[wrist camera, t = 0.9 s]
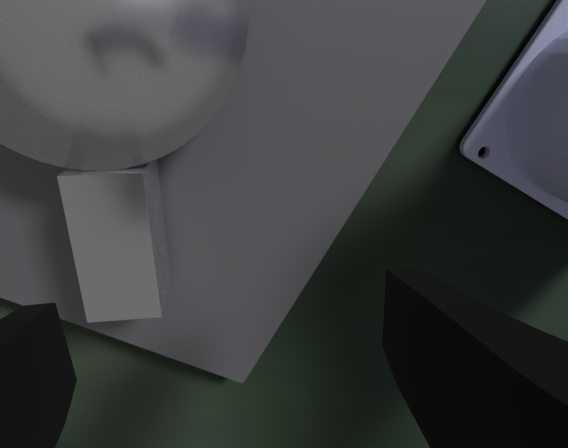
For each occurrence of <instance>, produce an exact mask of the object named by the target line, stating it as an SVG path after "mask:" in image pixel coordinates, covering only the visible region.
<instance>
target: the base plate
mask: <svg viewBox="0 0 568 448" xmlns="http://www.w3.org/2000/svg"><path fill="white" fill-rule="evenodd" d="M485 2H486V0H249V23H248V33H247V40H246V47H245V51H244V55H243V59H242V62H241V66H240V69H239V72H238V74H237V77H236V79H235V82H234V84H233V86H232V89H231V91H230V92H229V94H228V96H227V97H226V99H225V101H224V103H223V104H222V106H221V108H220V109H219V110H218V111H217V113H216V114H215V115H214V117H213V118H212V119H211V120H210V122H209V123H208V124H207V125H206V126H205V127H204V128H203V129H202V130H201V131H200V132H199V133H198V134H197V135H195V136H194V137H193V138H192V139H190V140H189V141H188V142H186V143H185V144H184V145H182V146H181V147H179V148H178V149H176V150H174V151H172V152H170V153H169V154H167V155H165V156H163V157H161V158H158V159H157V166H158V175H159V183H160V192H161V200H162V209H163V217H164V225H165V234H166V242H167V251H168V259H169V268H170V276H171V279H170V283H169V288H168V292H167V296H166V301H165V305H164V309H163V314H162V317H158V318H144V319H130V320H117V321H103V322H90V323H87V319H86V314H85V309H84V305H83V300H82V295H81V290H80V285H79V280H78V275H77V271H76V266H75V261H74V256H73V251H72V246H71V242H70V237H69V232H68V227H67V222H66V217H65V213H64V208H63V203H62V198H61V193H60V188H59V184H58V179H57V176H58V175H59V174H60V173H62V172H63V171H64V170H65V169H66V168H63V167H59V166H55V165H51V164H47V163H44V162H40V161H37V160H35V159H32V158H30V157H27V156H24V155H22V154H19V153H17V152H15V151H13V150H11V149H9V148H8V147H6V146H4V145H2V144H0V298H3V299H6V300H9V301H12V302H14V303H17V304H20V305H23V306H25V305H35V304H45V303H56V306H57V310H58V314H59V317H60V319H62V320H65V321H68V322H71V323H73V324H76V325H79V326H82V327H85V328H88V329H90V330H93V331H96V332H99V333H102V334H104V335H107V336H110V337H113V338H116V339H119V340H121V341H124V342H127V343H130V344H133V345H135V346H138V347H141V348H144V349H147V350H150V351H152V352H155V353H158V354H161V355H164V356H166V357H169V358H172V359H175V360H178V361H180V362H183V363H186V364H189V365H192V366H195V367H197V368H200V369H203V370H206V371H209V372H211V373H214V374H217V375H220V376H223V377H226V378H228V379H231V380H234V381H237V382H240V383H242V384H243V383H244V381H245V380H246V378H247V376H248V375H249V373H250V372H251V370H252V369H253V367H254V365H255V364H256V362H257V361H258V359H259V357H260V356H261V354H262V353H263V351H264V350H265V348H266V346H267V345H268V343H269V342H270V340H271V339H272V337H273V335H274V334H275V332H276V331H277V329H278V328H279V326H280V324H281V323H282V321H283V320H284V318H285V317H286V315H287V313H288V312H289V310H290V309H291V307H292V306H293V304H294V302H295V301H296V299H297V298H298V296H299V295H300V293H301V291H302V290H303V288H304V287H305V285H306V284H307V282H308V280H309V279H310V277H311V276H312V274H313V273H314V271H315V269H316V268H317V266H318V265H319V263H320V262H321V260H322V258H323V257H324V255H325V254H326V252H327V251H328V249H329V247H330V246H331V244H332V243H333V241H334V239H335V238H336V236H337V235H338V233H339V232H340V230H341V228H342V227H343V225H344V224H345V222H346V221H347V219H348V217H349V216H350V214H351V213H352V211H353V210H354V208H355V206H356V205H357V203H358V202H359V200H360V199H361V197H362V195H363V194H364V192H365V191H366V189H367V188H368V186H369V184H370V183H371V181H372V180H373V178H374V177H375V175H376V173H377V172H378V170H379V169H380V167H381V166H382V164H383V162H384V161H385V159H386V158H387V156H388V155H389V153H390V151H391V150H392V148H393V147H394V145H395V144H396V142H397V140H398V139H399V137H400V136H401V134H402V132H403V131H404V129H405V128H406V126H407V125H408V123H409V121H410V120H411V118H412V117H413V115H414V114H415V112H416V110H417V109H418V107H419V106H420V104H421V103H422V101H423V99H424V98H425V96H426V95H427V93H428V92H429V90H430V88H431V87H432V85H433V84H434V82H435V81H436V79H437V77H438V76H439V74H440V73H441V71H442V70H443V68H444V66H445V65H446V63H447V62H448V60H449V59H450V57H451V55H452V54H453V52H454V51H455V49H456V48H457V46H458V44H459V43H460V41H461V40H462V38H463V37H464V35H465V33H466V32H467V30H468V29H469V27H470V26H471V24H472V22H473V21H474V19H475V18H476V16H477V14H478V13H479V11H480V10H481V8H482V7H483V5H484V3H485Z"/></svg>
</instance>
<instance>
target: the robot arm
mask: <svg viewBox="0 0 568 448" xmlns="http://www.w3.org/2000/svg"><path fill="white" fill-rule="evenodd" d="M482 147H485V152H484V154H483V155H482V156H480V157H478V152H479V150H480V149H481V148H482ZM460 152H461V154H462V155H463V156H465V157H466V158H468V159H470V160H471V161H473V162H475V163H476V164H478V165H480V166H481V167H483V168H484V169H486V170H488V171H489V172H491V173H493V174H494V175H496V176H497V177H499V178H501V179H502V180H504V181H506V182H507V183H509V184H511V185H512V186H514V187H515V188H517V189H519V190H520V191H522V192H524V193H525V194H527V195H528V196H530V197H532V198H533V199H535V200H537V201H538V202H540V203H542V204H543V205H545V206H546V207H548V208H550V209H551V210H553V211H555V212H556V213H558V214H559V215H561V216H563V217H564V218H566V219H568V0H557V1H556V2H555V4H554V5H553V7H552V8H551V10H550V11H549V12H548V14H547V15H546V17H545V18H544V20H543V21H542V23H541V24H540V26H539V27H538V29H537V30H536V32H535V33H534V35H533V36H532V37H531V39H530V40H529V42H528V43H527V45H526V46H525V48H524V49H523V51H522V52H521V54H520V55H519V57H518V58H517V60H516V61H515V62H514V64H513V65H512V67H511V68H510V70H509V71H508V73H507V74H506V76H505V77H504V79H503V80H502V82H501V83H500V85H499V86H498V87H497V89H496V90H495V92H494V93H493V95H492V96H491V98H490V99H489V101H488V102H487V104H486V105H485V107H484V108H483V110H482V111H481V112H480V114H479V115H478V117H477V118H476V120H475V121H474V123H473V124H472V126H471V127H470V129H469V130H468V132H467V133H466V135H465V136H464V137H463V139H462V141H461V143H460ZM383 348H384V350H385V353H386V356H387V359H388V362H389V365H390V367H391V370H392V373H393V375H394V378H395V380H396V383H397V385H398V387H399V389H400V391H401V393H402V395H403V397H404V399H405V401H406V403H407V405H408V407H409V408H410V410H411V412H412V414H413V416H414V418H415V420H416V422H417V424H418V426H419V427H420V429H421V431H422V433H423V435H424V437H425V439H426V441H427V442H428V444H429V446H430V448H568V341H565V340H562V339H560V338H557V337H555V336H553V335H550V334H548V333H545V332H543V331H541V330H538V329H536V328H534V327H532V326H530V325H527V324H525V323H523V322H521V321H519V320H516V319H514V318H512V317H510V316H508V315H506V314H504V313H502V312H500V311H498V310H495V309H493V308H491V307H489V306H487V305H485V304H483V303H482V302H480V301H478V300H476V299H474V298H472V297H470V296H468V295H466V294H464V293H462V292H460V291H458V290H457V289H455V288H453V287H451V286H449V285H447V284H445V283H443V282H441V281H440V280H438V279H436V278H434V277H432V276H430V275H428V274H426V273H424V272H421V271H419V270H417V269H414V268H404V269H394V270H386V286H385V306H384V326H383ZM76 381H77V378H76V375H75V371H74V368H73V364H72V360H71V357H70V353H69V350H68V346H67V342H66V339H65V335H64V332H63V328H62V324H61V321H60V317H59V314H58V310H57V306H56V303H45V304H35V305H25V306H23V307H21V308H19V309H17V310H15V311H14V312H12V313H10V314H8V315H7V316H5V317H3V318H2V319H0V448H55V446H56V444H57V442H58V439H59V437H60V434H61V432H62V429H63V427H64V424H65V421H66V418H67V414H68V411H69V407H70V404H71V400H72V396H73V392H74V388H75V385H76Z"/></svg>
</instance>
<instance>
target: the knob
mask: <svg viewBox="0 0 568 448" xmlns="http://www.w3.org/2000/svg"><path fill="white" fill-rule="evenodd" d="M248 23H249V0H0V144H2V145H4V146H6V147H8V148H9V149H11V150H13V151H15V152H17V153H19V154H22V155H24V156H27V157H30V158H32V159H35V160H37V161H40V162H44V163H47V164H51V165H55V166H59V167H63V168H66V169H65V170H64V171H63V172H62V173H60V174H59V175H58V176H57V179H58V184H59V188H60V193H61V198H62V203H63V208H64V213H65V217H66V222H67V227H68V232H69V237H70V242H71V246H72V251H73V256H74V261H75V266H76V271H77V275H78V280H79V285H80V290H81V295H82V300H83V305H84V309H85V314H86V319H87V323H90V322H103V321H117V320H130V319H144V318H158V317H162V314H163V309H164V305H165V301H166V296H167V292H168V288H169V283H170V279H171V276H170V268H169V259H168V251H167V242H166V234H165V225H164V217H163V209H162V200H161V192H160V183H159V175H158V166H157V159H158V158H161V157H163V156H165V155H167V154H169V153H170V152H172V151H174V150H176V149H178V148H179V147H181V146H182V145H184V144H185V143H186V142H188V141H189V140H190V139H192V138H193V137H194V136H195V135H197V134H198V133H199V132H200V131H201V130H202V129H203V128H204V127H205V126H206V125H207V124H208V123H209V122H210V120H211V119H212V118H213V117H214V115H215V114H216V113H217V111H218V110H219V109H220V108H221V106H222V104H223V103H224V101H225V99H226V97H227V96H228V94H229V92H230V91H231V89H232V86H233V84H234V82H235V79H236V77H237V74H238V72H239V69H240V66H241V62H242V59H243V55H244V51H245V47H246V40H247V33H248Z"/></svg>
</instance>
